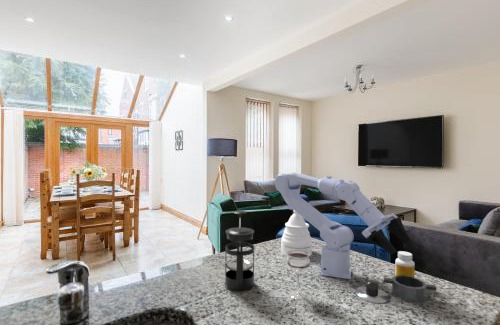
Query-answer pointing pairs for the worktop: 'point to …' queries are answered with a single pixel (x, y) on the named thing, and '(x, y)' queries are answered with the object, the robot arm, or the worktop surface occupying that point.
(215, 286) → the worktop surface
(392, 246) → the robot arm
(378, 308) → the worktop surface
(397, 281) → the pot
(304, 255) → the wineglass
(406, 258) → the supplement bottle
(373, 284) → the lid
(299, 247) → the honey pot
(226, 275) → the french press
